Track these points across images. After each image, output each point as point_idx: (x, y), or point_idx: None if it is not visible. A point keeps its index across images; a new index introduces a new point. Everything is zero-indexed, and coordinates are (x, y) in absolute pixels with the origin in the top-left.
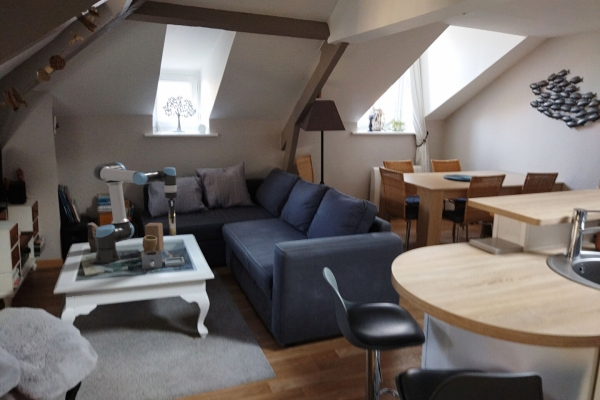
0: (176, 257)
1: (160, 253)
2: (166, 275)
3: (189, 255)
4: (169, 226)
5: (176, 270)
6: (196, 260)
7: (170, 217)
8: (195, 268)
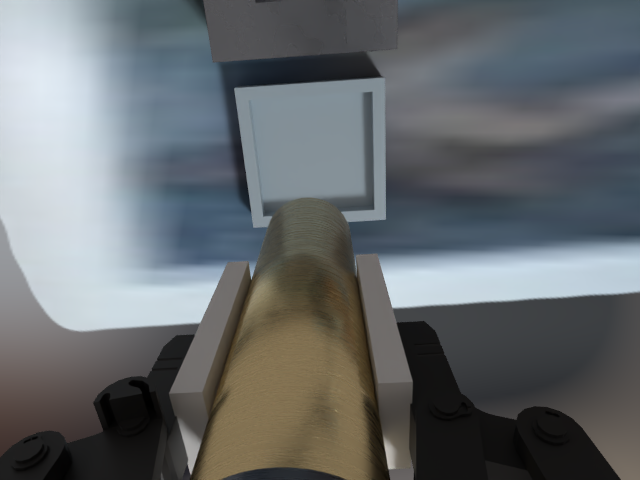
0: (382, 174)
1: (277, 49)
2: (36, 96)
3: (477, 254)
4: (282, 253)
5: (144, 164)
6: None
7: (34, 441)
8: (171, 277)
